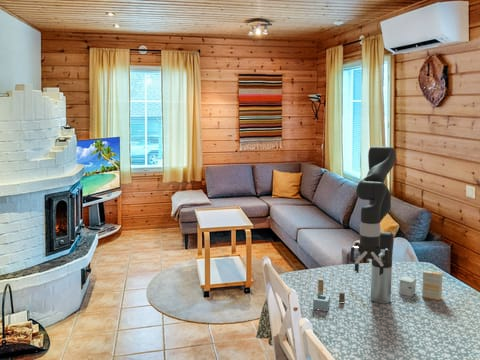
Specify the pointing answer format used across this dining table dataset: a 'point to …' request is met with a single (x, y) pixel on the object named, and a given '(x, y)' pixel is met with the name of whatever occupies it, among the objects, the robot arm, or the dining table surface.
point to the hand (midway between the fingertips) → (368, 273)
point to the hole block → (321, 302)
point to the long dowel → (320, 286)
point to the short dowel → (341, 297)
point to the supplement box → (432, 284)
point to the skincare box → (407, 286)
